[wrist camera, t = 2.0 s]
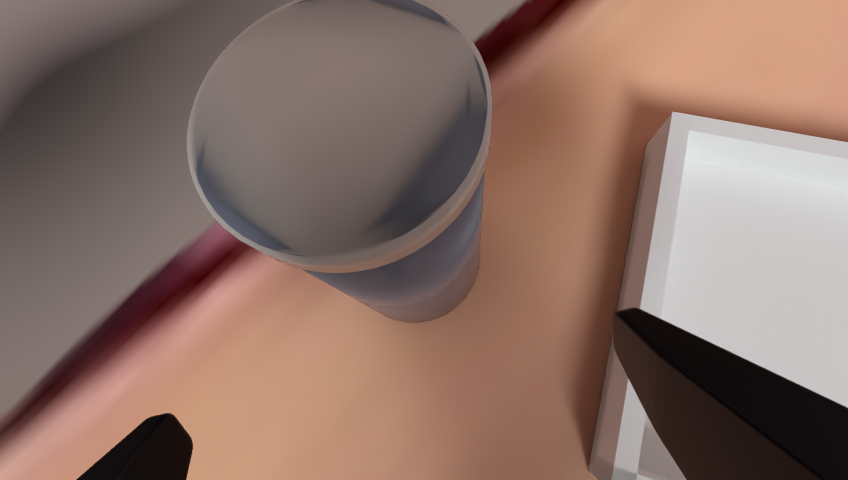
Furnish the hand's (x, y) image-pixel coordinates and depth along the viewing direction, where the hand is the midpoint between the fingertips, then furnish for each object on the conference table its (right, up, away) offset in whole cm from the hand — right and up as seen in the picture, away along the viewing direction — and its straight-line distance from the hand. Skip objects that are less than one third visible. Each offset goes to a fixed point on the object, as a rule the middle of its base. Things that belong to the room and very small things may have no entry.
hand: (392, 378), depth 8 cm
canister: (0, +2, +13) cm, 13 cm away
